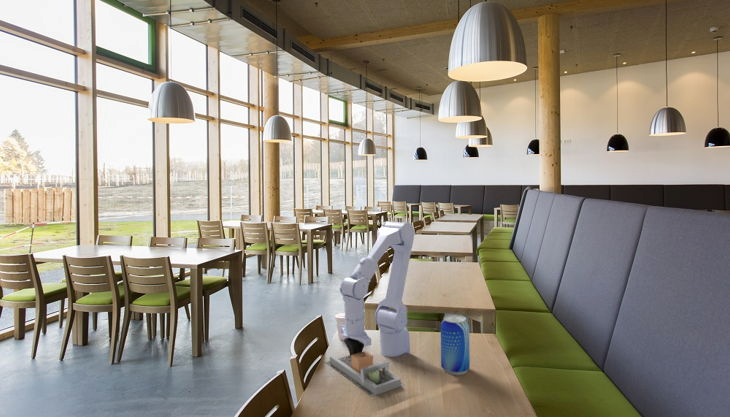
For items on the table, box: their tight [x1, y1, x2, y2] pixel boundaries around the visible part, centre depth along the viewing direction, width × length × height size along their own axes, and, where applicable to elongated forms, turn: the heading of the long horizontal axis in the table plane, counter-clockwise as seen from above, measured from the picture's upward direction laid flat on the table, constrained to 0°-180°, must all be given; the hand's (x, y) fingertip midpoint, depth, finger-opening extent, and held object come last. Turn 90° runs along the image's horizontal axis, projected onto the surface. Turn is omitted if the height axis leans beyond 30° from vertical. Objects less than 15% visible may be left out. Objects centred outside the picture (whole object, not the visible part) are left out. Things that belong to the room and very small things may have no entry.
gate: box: [360, 360, 390, 387], centre depth 123 cm, size 9×1×6 cm, turn 123°
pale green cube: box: [369, 369, 380, 384], centre depth 123 cm, size 3×3×3 cm
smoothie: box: [334, 302, 346, 341], centre depth 156 cm, size 6×6×14 cm
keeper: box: [350, 350, 374, 379], centre depth 127 cm, size 5×6×6 cm
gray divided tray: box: [325, 355, 405, 398], centre depth 129 cm, size 11×26×3 cm, turn 33°
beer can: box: [440, 314, 471, 376], centre depth 131 cm, size 8×8×16 cm
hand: (355, 361), depth 131 cm, fingers closed
